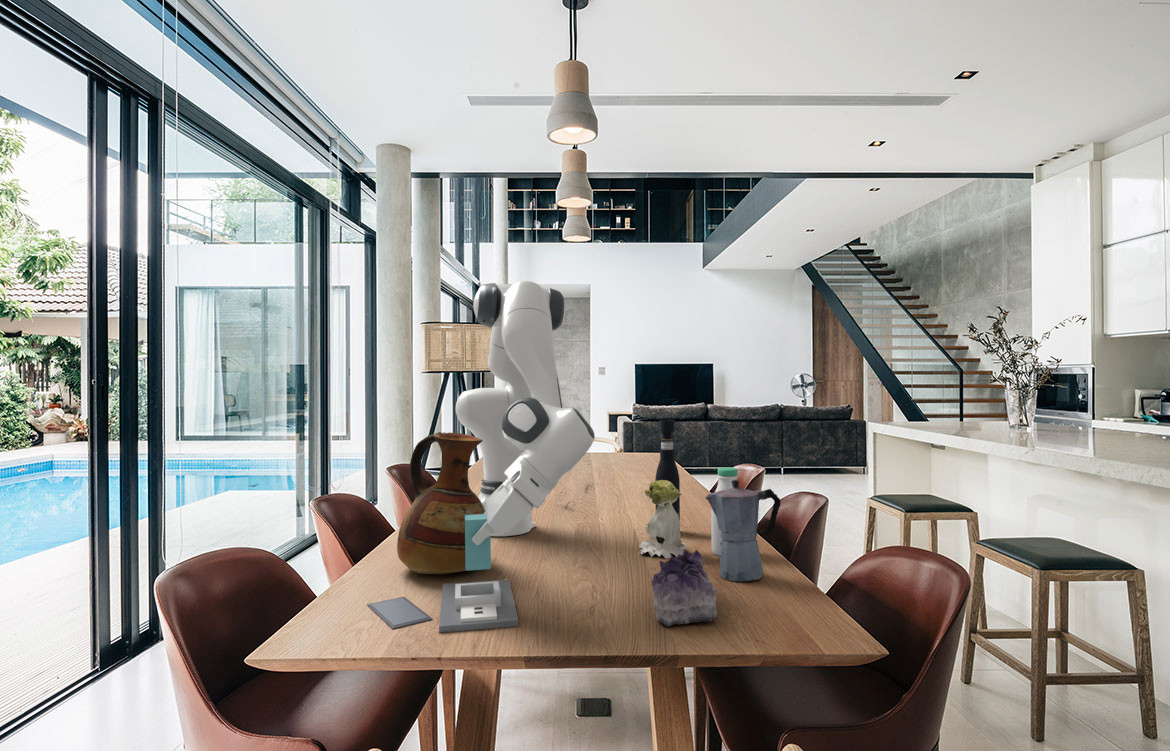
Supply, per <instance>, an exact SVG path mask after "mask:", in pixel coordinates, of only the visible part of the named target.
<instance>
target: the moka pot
mask: <svg viewBox="0 0 1170 751" xmlns="http://www.w3.org/2000/svg"><path fill="white" fill-rule="evenodd" d="M731 482H732V486H733V488H731V489H726V490H722V491H718V492H715V491H714V492H711V493H708V494H707V495H705V496H704V499H705V500H707V502H708V503H709V505H710V507H711V508H712V509H713V511H714V513H715V515H716V517H717V522H718V527H719V529H720V530H721V537H722V541H721V542H720V545H721V556H720V564H719V565H720V566H719V576H720V577H721V578H722V579H725V580H728V581H731V582H752V581H757V580H760V579H762V578H763V577H764V568H763V563H762V558H761V554H760V548H759V543H758V540H757V537H758V536H757V535H758V531H757V529H758V528H759V527H758V526H759V525H758V523H759V510H760V508H759V507H760V501H764V500H767V499H772V500H773V505H772V510H771V514H770V517H769V518H770V519H769V523H768V527H767V529H764V530H760V531H759V532H760V534H761V536H764V535H765V536H767V535H771V534H773V532H774V527H775V524H776V522H777V521H776V519H777V516H778V514H779V510H780V507H781V503H782V501H781V498H779V497H778V495H777V494H776V493H775V492H774V491H773V490H772V489H771V488H767V489H764V490H763V489H762V490H751V489H745V488H740V487H739V483H740V481H739V480H733V481H731Z"/></svg>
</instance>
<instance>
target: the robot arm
mask: <svg viewBox="0 0 1170 751" xmlns="http://www.w3.org/2000/svg"><path fill="white" fill-rule="evenodd" d="M566 309H567V308H566V302H565V298H564V295H563V293H562V292H561V291H559V290H557V289H554V288H551V287H547V288H544V287H542V286H541V285H539V284H538V283H536V282H534V281H531V280H520V281H517V282H515V283H513V284H510V283H508V284H507V283H501V284H500V283H499V284H498V283H496V282H490V283H484V284H482V285H481V286H479V288H478V290H477V292H476V294H475V296H474V299H473V312H474V315H475V320H477V322H478V323H479V324H480V325H482V326H485V327H488V328H491V332H490V339H489V350H488V358H487V366H488V369H489V371H490V372H491V373H492V375H494V376H495V377H496V378H498V379H499V380H501V381H503V382H506V386H504V387H479V388H474V389H469V390H464V391H463V392H461V393H460V395H459V396H458V398H457V401H456V403H455V414H456V418H457V419H458V421H459V422H460V424H461V425H462V426H463V427H465V428H466V429H467V430H469V431H470V432H471V434H472V435H473V437H477V438H479V439H482V440H483V441H482V442H481V443H480V444H479V446H480V449H481V454H482V462H483V464H482V466H483V468H482V469H483V478H482V479H481V483H480V494H478V495H477V497H478V498H479V499H480V501H481V503H482V505H483V507H484V509H485V513H484V514H486V516H487V521H486V522H485V524H484V525H483V526H482V527H481V528H480V529H479V530H478V531H477V532H476V533H475V534H474V535H473V536H472V541H473V542H474V543H475V544H476V545H480V544H481V543H482V542H483V541H484V540H485V539H486V538H487V537H489V536H490V535H491V537H509V536H510V537H511V536H517V535H523V534H526V533H529V532H530V531H531V530H532V529H533V528H535V527H536V521H533V520H532V511H533V509H534V508H535V509H539V508H540V507H542V505H543V504H544V503H545V502H546V499H547V496H548V495H549V494H550V493H551V492H552V490H553V489H555V487H557V485H558V483H559V481H560V480H561V478H562V477H563V476H564V475H565V474H567V473H569V472H570V471H572V469H573V468H574V467H575V466H576V465H577V464H578V463H579V462H580V461H581V459H582V458H583V457H584V456H585V455H586V454H587V452H588V451H589V450H590V449H591V447H592V444H593V443H594V441H595V438H596V436H595V431H594V430H593V428H592V426H591V425H590V424H589V423H588V421H587V420H586V419H585V417H584V416H583V415H582V413H581V412H580V411H579V410H578V409H577V408H575V407H572V406H571V407H563V402H562V396H561V388H560V382H559V378H558V377H559V376H558V371H557V365H556V364H557V363H556V362H557V361H556V357H555V348H554V337H553V336H554V335H553V331H556V330H558V329H559V328H560V327H561V326H562V323H563V321H564V319H565V316H566ZM504 434H505V435H504ZM505 436H506V437H505Z"/></svg>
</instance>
